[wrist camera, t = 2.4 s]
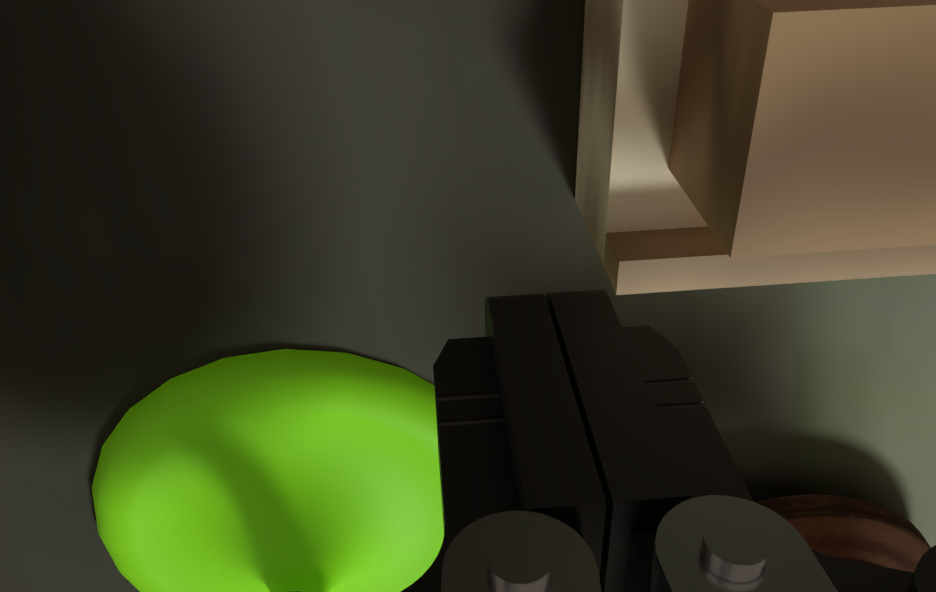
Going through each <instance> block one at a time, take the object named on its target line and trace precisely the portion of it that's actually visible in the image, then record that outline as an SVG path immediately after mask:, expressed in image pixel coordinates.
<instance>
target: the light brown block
mask: <svg viewBox="0 0 936 592" xmlns="http://www.w3.org/2000/svg"><path fill="white" fill-rule="evenodd" d="M669 170H670V172H671V173H672V175H673V176H674V177H675V179H676V180H677V182H678V183H679V185H680V186H681V188H682V189H683V190H684V192H685V193H686V195H687V196H688V198H689V199H690V201H691V202H692V203H693V205H694V206H695V208H696V209H697V211H698V212H699V213H700V215H701V216H702V218H703V219H704V221H705V222H706V224H707V225H708V226H709V228H710V229H711V231H712V232H713V234H714V235H715V237H716V238H717V239H718V241H719V242H720V244H721V245H722V247H723V248H724V250H725V251H726V252H727V254H728V255H729V257H730V258H740V257H755V256H771V255H786V254H801V253H817V252H832V251H847V250H863V249H878V248H893V247H909V246H924V245H936V0H688V8H687V17H686V25H685V34H684V42H683V51H682V59H681V68H680V76H679V84H678V93H677V101H676V110H675V118H674V127H673V135H672V144H671V152H670V160H669Z"/></svg>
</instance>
